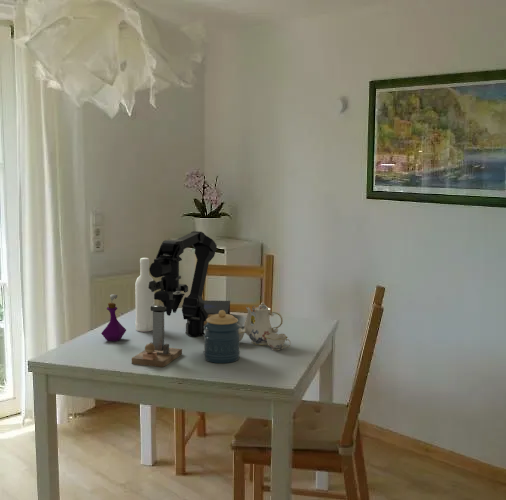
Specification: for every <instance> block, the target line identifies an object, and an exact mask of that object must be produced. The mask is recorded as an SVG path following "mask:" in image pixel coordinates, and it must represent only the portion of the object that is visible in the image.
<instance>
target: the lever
mask: <svg viewBox="0 0 506 500" xmlns="http://www.w3.org/2000/svg"><path fill="white" fill-rule="evenodd" d="M151 311H153V331H152V342H153V345H154V346H155V350H157V351H163V345H165V313H166V307H165V306H164V305H154V306H153V305H152V306H151Z"/></svg>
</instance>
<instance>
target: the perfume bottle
mask: <svg viewBox="0 0 506 500" xmlns="http://www.w3.org/2000/svg"><path fill="white" fill-rule="evenodd" d="M117 298H118V294H113V293H112V294H110V295H109V299H110V301H113V300H116V299H117ZM106 310H108V311H109V314H110V316H109V317H110V319H109V322H108V324H107V325H106V326H105V328H104V329H103V330H102V331H101V333H100V334H101V335H102V336H103V338H104V339H105V340H106V342H107V341H109V342H119V341H120V340H121V339H122V337H124V335H125V333H126V332H127V329H126V328H125V327H124V326H123V324H121V323H120V322H119V320H118V318H117V316H116V312H117V310H118V307H117V306H116V303H115V302H108V303H107V307H106Z"/></svg>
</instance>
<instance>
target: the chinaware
mask: <svg viewBox="0 0 506 500" xmlns="http://www.w3.org/2000/svg"><path fill="white" fill-rule="evenodd" d="M255 307H256V306H255ZM255 307H254V309H255V310H254V312H256V319H255V322H254V326H251V324H250V322H251V312H252V308H250V307H249V306H245V308H246V310H247V315H246V317H245V321H244V325H243V326H244V330H243V329H242V328H239V334H240V340H239V342H241V341H242V339H243V338H244V336H245V334H246V335H247V336H248V337H249V340H251V344H253V345H257V346H269V347H270V348H271V351H280V350H281V349H282V350H283V349H284V348H289V347H290V346H291V344H292V343H291V340H290V339H289V338H288V336H287V335H286V334H285V333H280V334H278V332H279V328H280V327H282V325H283V322H284V319H283V316H282V314H280V312H278V311H271V310H272V308H271V307H268V306H267V305H266V304H265V303H264V301H262V302H261V303H260V305H258V306H257V307H256V308H255ZM274 314H277V315H278V316H279V317H280V323H279V325H278V326H274V327H272V325H271V324H272V323H271V319H270V316H271V317H274ZM287 341H288V342H289V345H288V346H286V345H285V343H286V342H287Z"/></svg>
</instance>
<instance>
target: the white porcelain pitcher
mask: <svg viewBox="0 0 506 500" xmlns="http://www.w3.org/2000/svg"><path fill="white" fill-rule="evenodd" d="M255 308H256V306H255V305H253V306H252V307H251V310H252V311H251V322H250V324H251V326H254V323H255V319H256V312H255ZM240 328H242V329H243V330H244V325H243V326H240Z"/></svg>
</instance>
